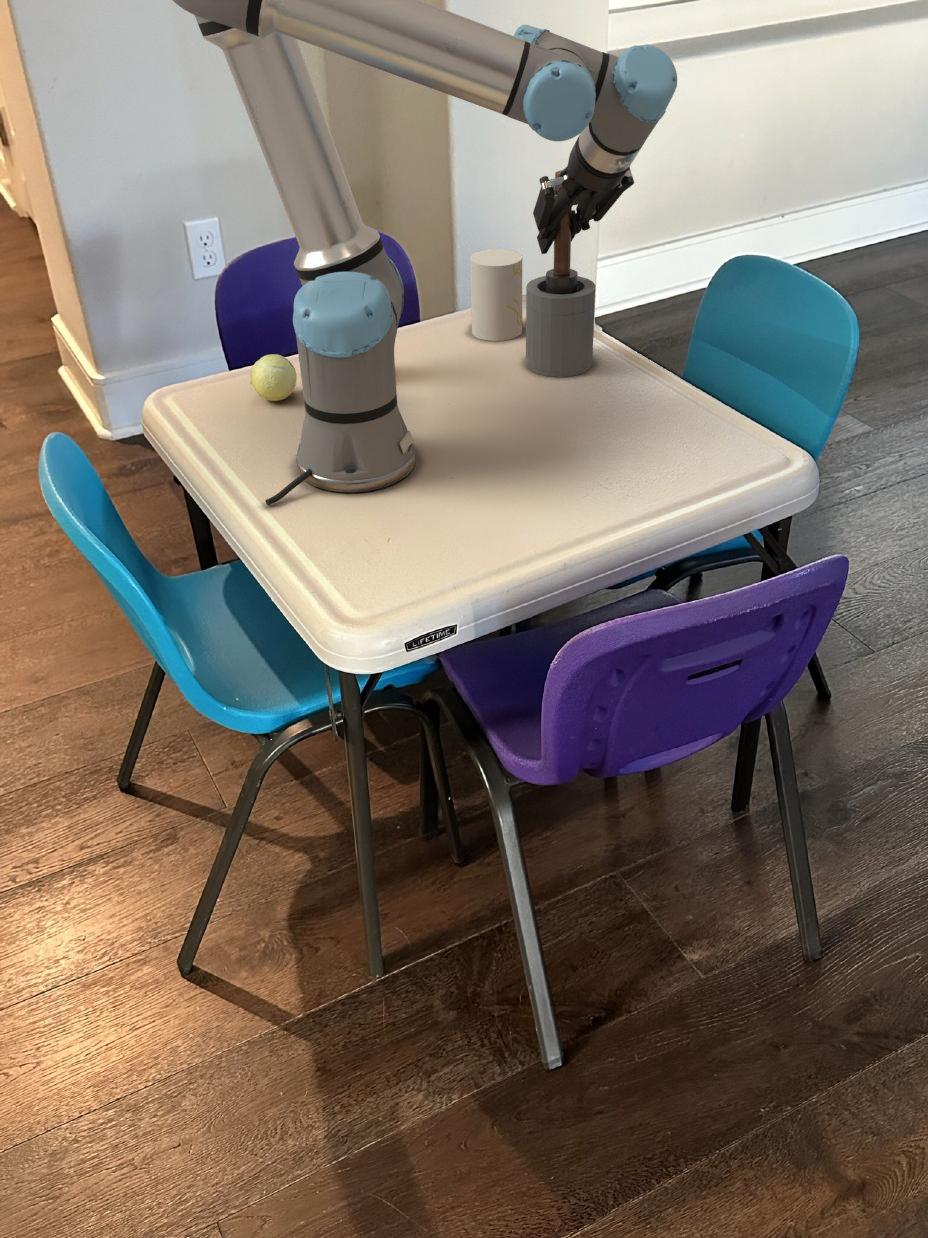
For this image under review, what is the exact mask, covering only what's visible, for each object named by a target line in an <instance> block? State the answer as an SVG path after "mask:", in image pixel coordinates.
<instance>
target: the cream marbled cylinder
mask: <svg viewBox="0 0 928 1238" xmlns="http://www.w3.org/2000/svg"><path fill="white" fill-rule="evenodd" d="M469 261H470V262H469V263H470V265H469V267H470V306H471V307H470V308H471V309H470V311H471V333H472V336H473V337H475V338H477V339H478V340H479V339H480V340H483V341H490V342H503V341H509V340H512V339H516V338H518V337H520V336H521V335H522V333H523V255H522V253H520V252H519V251H515V250H512V249H506V248H489V249H483V250H480V251H476V252H474V253H472V254H471V255H470V257H469Z"/></svg>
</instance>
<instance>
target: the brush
mask: <svg viewBox="0 0 928 1238" xmlns="http://www.w3.org/2000/svg"><path fill="white" fill-rule="evenodd" d="M561 171H562V170H557V171H555V172H554V179H555V178H558V177H559V175H560V173H561ZM561 188H562V187H560V188H559V190H558V192H557V194H558V193H559V191H560V190H561ZM572 210H573V207H572V208H571V209H570V210H569V212H568V213H567V214H566V216H565V217H564V218H563V219H562V221H561V222H560V223H559V225H558V226H559V229H560V231H559V233H558V234H557V236H556V238H555V239H554V241H553V268H552V269H549V270H547V271H545V272H546V273H545V276H546V293H549V294H561V295H564V294H572V293H577V283H578V276H579V273H578V271H577V270H575V269H572V268H571V259H572V256H571V254H572V241H571V219H572Z"/></svg>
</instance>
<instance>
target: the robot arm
mask: <svg viewBox="0 0 928 1238" xmlns="http://www.w3.org/2000/svg"><path fill="white" fill-rule="evenodd" d="M172 2H174V4H176V5H177V6H179V7H180V8H181V9H183V10H184V11H186V12H188V13H189V14H192V15H194V18H195V20H196V23H197V25H198V28H199V30H200V33H201V35H202V38H203V40H205V41H207V42H209V43H211V44H213V45H215V46H216V47H218V48H219V49H220V50H221V51H222V53H223V56H224V57H225V60H226V63H227V66H228V67H229V71H230V72H231V76H232V78H233V81H234V83H235V86H236V88H237V91H238V93H239V96H240V98H241V101H242V103H243V106H244V109H245V112H246V114H247V116H248V119H249V122H250V124H251V126H252V129H253V132H254V134H255V137H256V139H257V142H258V145H259V147H260V149H261V151H262V152H261V153H262V154H263V158H264V159H265V162H266V164H267V167H268V170H269V172H270V175H271V178H272V180H273V183H274V185H275V188H276V190H277V193H278V195H279V199H280V200H281V203H282V205H283V208H284V210H285V213H286V215H287V217H288V218H287V219H288V221H289V223H290V226H291V228H292V231H293V233H294V236H295V238H296V241H297V244H298V246H299V248H298V252H297V254H296V257H295V259H294V261H293V266H294V268H295V271H296V273H297V276H298V279H299V281H300V283H301V287H300V288H299V289H298V291H297V292H296V294H295V297H294V300H293V301H294V302H293V314H292V325H293V328H294V332H295V338H296V345H297V353H298V362H299V368H300V369H299V370H300V377H301V386H302V395H303V402H304V411H305V413H304V420H303V424H302V430H301V435H300V442H299V444H298V448H297V451H296V465H297V472H298V474H299V476H297V477H296V478H294V480H292V481H290V482H289V483H288V484H287V485H286V486H285V487H283V488H282V489H281V490H280V491H278V493H276V494H275V495H273V496H271V497H269V498H267V499H265V504H266V505H267V506H270V505H273V504H275V503H278V502H279V501H280V500H281V499H283V498H284V497H285V496H287V495H288V494H290V492H292V490H294V489H295V488H297V487H298V486H300V484H302V483H303V482H304V481H305V482H306V483H308V484H309V485H311V486H313V487H316V488H318V489H322V490H326V491H330V492H336V493H337V492H338V493H362V492H370V491H374V490H375V491H376V490H379V489H383V488H386V487H389V486H391V485H394V484H396V483H398V482H400V481H401V480H403V479H404V478H406V477H407V476H408V475H409V474H410V473H411V472H412V471H413V469H414V468H415V465H416V455H415V454H416V451H415V450H416V449H415V445H414V439H413V436H412V433H411V431H410V430H408V428H407V425H406V423H405V421H404V418H403V415H402V414H401V411H400V408H399V405H398V392H397V378H396V377H397V376H396V375H397V374H396V363H395V362H396V361H395V346H396V345H395V344H396V338H397V333H398V328H399V325H400V324H399V323H400V319H401V316H402V313H403V310H404V305H405V297H404V296H405V289H404V283H403V280H402V277H401V274H400V271H399V270H398V267H397V265H396V264H395V263H394V261H393V259H391V258H390V256H388V255H387V253H386V249H385V247H384V243H383V241H382V238H381V236H380V233H379V232H378V230H377V229H374V228H372V227H370V226H369V225H366V224H365V223H364V222H363V220H362V217H361V215H360V212H359V209H358V206H357V204H356V200H355V198H354V197H355V196H354V195H353V191H352V189H351V186H350V183H349V181H348V178H347V175H346V173H345V170H344V169H345V168H344V166H343V164H342V161H341V158H340V156H339V153H338V150H337V147H336V144H335V141H334V138H333V135H332V133H331V130H330V128H329V125H328V122H327V119H326V116H325V113H324V110H323V108H322V104H321V102H320V99H319V97H318V94H317V91H316V88H315V85H314V83H313V80H312V77H311V74H310V71H309V68H308V66H307V63H306V60H305V58H304V57H305V56H304V53H303V51H302V48H301V45H300V43H299V41H301V42H303V43H306V44H309V45H312V46H314V47H318V48H319V49H323V50H326V51H329V52H331V53H334V54H336V55H339V56H342V57H345V58H348V59H350V60H353V61H356V62H358V63H361V64H364V65H366V66H369V67H372V68H375V69H378V70H381V71H383V72H386V73H388V74H391V75H394V76H397V77H399V78H402V79H404V80H407V81H411V82H413V83H416V84H419V85H421V86H424V87H427V88H430V89H433V90H435V91H438V92H441V93H443V94H446V95H449V96H451V97H454V98H457V99H460V100H463V101H465V102H468V103H471V104H473V105H476V106H479V107H482V108H484V109H486V110H489V111H493V112H495V113H498V114H501V115H503V116H505V117H508V118H510V119H513V120H514V121H517V122H520V123H523V124H525V125H528V126H529V128H530V129H531V130H533V131H534V132H535V133H536V134H537V135H538V136H539V137H541V138H543V139H545V140H547V141H550V142H551V141H552V142H565V141H569V140H571V139H574V138H576V137H577V136H578V137H577V139H576V141H575V142H574V144H573V146H572V148H571V150H570V153H569V156H568V161H567V166H566V167H565V168H563V169H562V170H560V171H561V173H560V175H559V177H558V178H555V177H554V178H549V176H548V175H544V176H542V177H540V178H539V184H540V189H539V192H538V196H537V198H536V202H535V205H534V208H533V211H532V215H533V218H534V221H535V225H536V228H537V231H538V234H537V236H536V239H537V243H538V246H539V250H540V253H541V255H546V254H547V253H549V250H550V248H551V247H552V246H553V245H552V244H554V239H555V238H556V236H557V234H558V233H559V231H560V229H559V226H558V225H559V223H560V222H561V221H562V219H563V218H564V217H565V216H566V214H567V213H568V212H569V210H570V209H571V208H572V219H571V242H573V240H574V238H575V236H576V235H578V234H580V233H581V232H582V231H583V232H584V231H585V232H586V231H589V229H590V228H591V225H590V222H591V220H593V222H594V223H595V222H600V221H601V220H602V219H604V217H605V215H606V214H607V213H608V212H609V211H610V210H611V208H612V207H613V206H614V204H615V203H616V202H617V201H618V199H619V198H620V197H621V196H622V195H623V193H624V192H626V191H627V190H628V189H629V188H631V187H632V186H633V185H635V180H634V176H633V174H632V171H631V170H632V169H631V166H632V163H633V162H634V161H635V159H636V158H637V156H638V154H639V153H640V151H641V149H642V148H643V146H644V145H645V143H646V142H647V139H648V138H649V137H650V135H651V134H652V133H653V130H654V129H655V127H656V125H657V124H658V123H659V122H660V120H662V118H663V117H664V115H665V114H666V111H667V109H668V106H669V104H670V102H671V100H672V99H673V97H674V94H675V92H676V90H677V87H678V72H677V69H676V66H675V65H674V62H673V61H672V59H671V58H670V57H669V55H668V54H667V53H666V52H665V51H663V50H662V49H661V48H659V47H657V46H654V45H651V44H644V45H643V44H642V45H641V44H640V45H637V44H635V45H632V46H630V47H629V48H627V49H626V50H624V52H622V54H620V55H619V56H617V55H615V54H612V53H607V52H605V51H600V50H598V49H596V48H592V47H589V46H587V45H585V44H582V43H580V42H577V41H574V40H572V39H569V38H567V37H564V36H561V35H559V34H556V33H554V32H551V30H550V29H547V28H539V27H536V26H532V25H529V24H521V25H519V26H518V27H517V28H516V30H515V32H514V34H509V33H507V32H504V31H501V30H499V29H496V28H494V27H491V26H488V25H486V24H483V23H480V22H478V21H475V20H472V19H470V18H467V17H464V16H463V15H460V14H457V13H454V12H452V11H449V10H446V9H444V8H441V7H439V6H436V5H433V4H431V3H428V2H426V1H424V0H172ZM560 187H562V188H561V190H560V191H559V193H558V194H557V192H558V190H559V188H560ZM574 206H576V208H575V209H573V207H574Z"/></svg>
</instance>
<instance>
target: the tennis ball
mask: <svg viewBox="0 0 928 1238" xmlns="http://www.w3.org/2000/svg"><path fill="white" fill-rule="evenodd" d="M249 382H250V385H251V386H252V388H253V390H254V391H255V392H256V393H257V394H258V395H259V396H260V398H262V399H264V400H267V401H270V402H271V401H272V402H278V401H282V400H284V399H286V398H288V397H289V396H290V395H291V394H293V392H294V390H295V388H296V385H297V371H296V368H295V367H294V364H293V363H292V362H291V361H290V360H289V358H287V357H286V356H283V355H280V354H277V353H276V354H273V353H272V354H266V355H264V356H262V357H260V359H258V360H257V361H255V363H254V364H253V365H252V367H251V369H250V381H249Z"/></svg>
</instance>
